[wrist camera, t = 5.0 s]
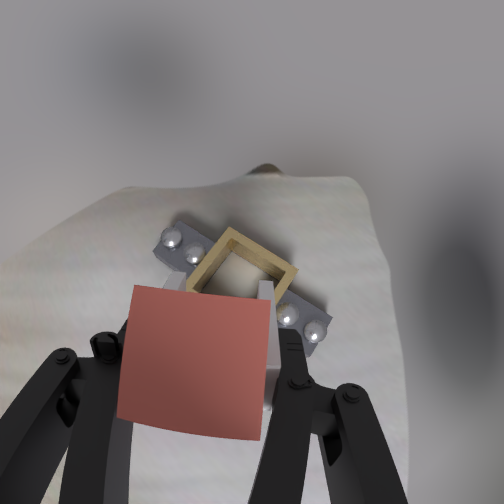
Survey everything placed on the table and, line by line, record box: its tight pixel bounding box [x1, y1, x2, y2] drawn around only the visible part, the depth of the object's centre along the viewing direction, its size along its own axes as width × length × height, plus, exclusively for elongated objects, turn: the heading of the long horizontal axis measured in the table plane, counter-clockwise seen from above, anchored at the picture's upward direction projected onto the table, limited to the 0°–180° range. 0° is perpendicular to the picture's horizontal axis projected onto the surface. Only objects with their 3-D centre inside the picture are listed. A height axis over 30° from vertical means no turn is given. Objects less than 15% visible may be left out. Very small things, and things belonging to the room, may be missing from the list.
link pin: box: [117, 285, 271, 441], centre depth 12 cm, size 4×4×11 cm
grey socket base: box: [153, 220, 333, 357], centre depth 31 cm, size 21×9×4 cm, turn 56°
